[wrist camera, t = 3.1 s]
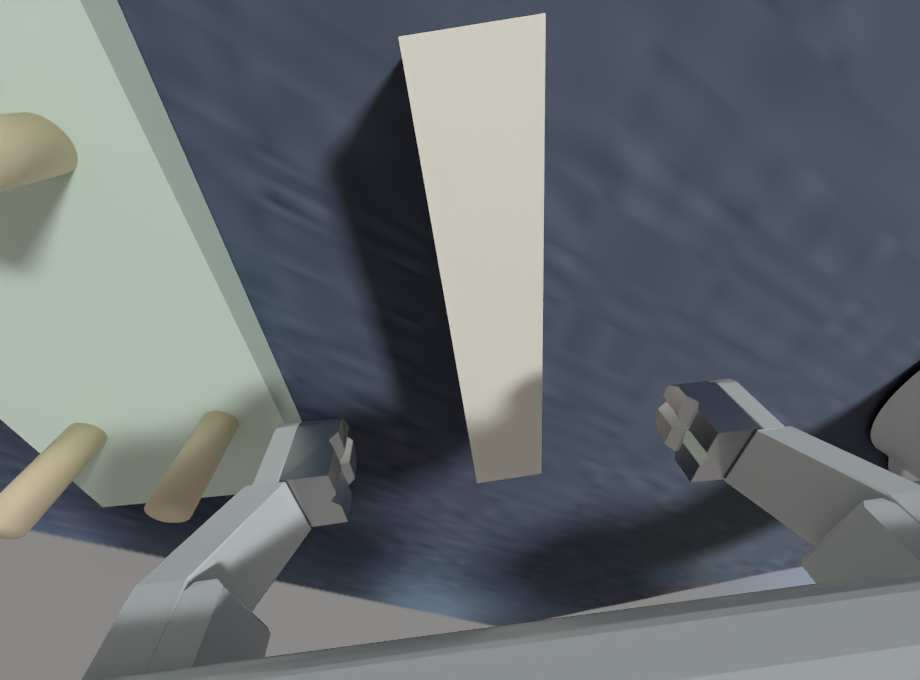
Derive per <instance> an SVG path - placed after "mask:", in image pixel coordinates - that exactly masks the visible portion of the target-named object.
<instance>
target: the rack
mask: <svg viewBox="0 0 920 680" xmlns="http://www.w3.org/2000/svg"><path fill="white" fill-rule="evenodd" d="M0 419H1V420H2V421H3V422H4V423H6V424H7V425H8V426H9V427H10V428H11V429H12V430H14V431H15V432H16V433H17V434H18V435H19V436H21V437H22V438H23V439H24V440H25V441H26V442H28V443H29V444H30V445H31V446H32V447H33V448H34V449H36V450H37V451H38V452H39V453H40V455H38V456H37V457H36V458H35V459H34V460H33V461H32V462H31V463H30V464H29V465H28V466H27V467H26V468H25V469H24V470H23V471H22V472H21V473H20V474H19V475H18V476H17V477H16V478H15V479H14V480H13V481H12V482H11V483H10V484H9V485H8V486H7V487H6V488H5V489H4V490H3V491H2V492H1V493H0V538H2V539H17V538H22V537H24V536H25V535H26V534H27V533H28V532H29V531H30V529H31V528H32V527H33V526H34V525H35V524H36V523H37V521H38V520H39V519H40V518H41V517H42V516H43V514H44V513H45V512H46V511H47V510H48V509H49V508H50V506H51V505H52V504H53V503H54V502H55V501H56V499H57V498H58V497H59V496H60V495H61V494H62V493H63V491H64V490H65V489H66V488H67V487H68V486H69V484H70V483H71V482H72V481H73V482H74V483H75V484H76V485H77V486H79V487H80V488H81V489H82V490H83V491H84V492H86V493H87V494H88V495H89V496H90V497H91V498H92V499H94V500H95V501H96V502H97V503H98V504H99V505H101V506H102V507H110V506H121V505H131V504H141V503H146V505H145V507H144V511H145V513H146V514H147V515H148V516H150V517H152V518H154V519H156V520H159V521H163V522H168V523H180V522H184V521H187V520H189V519H190V518H191V516H192V515H193V513H194V511H195V509H196V507H197V505H198V503H199V501H200V499H201V498H204V497H214V496H224V495H235V494H237V493H238V492H239V491H240V490H241V489H242V488H244V487H245V486H247V485H252V484H253V482H254V479H255V477H256V475H257V472H258V470H259V467H260V465H261V462H262V460H263V458H264V455H265V453H266V450H267V448H268V446H269V443H270V441H271V438H272V436H273V433H274V431H275V429H276V428H277V427H278V426H279V425H280V424H283V423H296V422H302V420H301V418H300V416H299V414H298V411H297V409H296V407H295V404H294V402H293V400H292V398H291V395H290V393H289V391H288V389H287V386H286V384H285V382H284V379H283V377H282V375H281V373H280V370H279V368H278V366H277V363H276V361H275V359H274V357H273V354H272V352H271V350H270V348H269V345H268V343H267V341H266V338H265V336H264V334H263V332H262V329H261V327H260V325H259V322H258V320H257V318H256V316H255V313H254V311H253V309H252V307H251V304H250V302H249V300H248V297H247V295H246V293H245V291H244V288H243V286H242V284H241V281H240V279H239V277H238V275H237V272H236V270H235V268H234V266H233V263H232V261H231V259H230V256H229V254H228V252H227V250H226V247H225V245H224V243H223V240H222V238H221V236H220V234H219V231H218V229H217V227H216V225H215V222H214V220H213V218H212V215H211V213H210V211H209V209H208V206H207V204H206V202H205V199H204V197H203V195H202V193H201V190H200V188H199V186H198V184H197V181H196V179H195V177H194V174H193V172H192V170H191V168H190V165H189V163H188V161H187V158H186V156H185V154H184V152H183V149H182V147H181V145H180V143H179V140H178V138H177V136H176V133H175V131H174V129H173V127H172V124H171V122H170V120H169V117H168V115H167V113H166V111H165V108H164V106H163V104H162V101H161V99H160V97H159V95H158V92H157V90H156V88H155V86H154V83H153V81H152V79H151V76H150V74H149V72H148V70H147V67H146V65H145V63H144V60H143V58H142V56H141V54H140V51H139V49H138V47H137V45H136V42H135V40H134V38H133V35H132V33H131V31H130V29H129V26H128V24H127V22H126V19H125V17H124V15H123V13H122V10H121V8H120V6H119V4H118V1H117V0H0Z"/></svg>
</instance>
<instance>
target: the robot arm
mask: <svg viewBox="0 0 920 680" xmlns="http://www.w3.org/2000/svg"><path fill="white" fill-rule="evenodd" d="M663 397H664V399H665V401H666V402H665V403H664V404H663V405H662V406H661V407H659V408H658V410H657V414H656V417H655V422H656V429H657V432H658V434H659V436H660V438H661V440H662V441H663V443H664V444H665V445H667V446H668V447H670V448H671V449H673V450H675V460H676V462H677V463H678V465H679V466H680V467H681V469H682V470H683V472H684V473H685V475H686V476H687V478H688V479H689V480H690V482H698V481H709V480H721V479H725V480H724V481H725V482H726V483H728V484H729V485H731V486H732V487H733V488H735V489H736V490H737V491H739V492H740V493H742V494H743V495H744V496H746V497H747V498H748V499H750V500H751V501H753V502H754V503H755V504H757V505H758V506H759V507H761V508H762V509H764V510H765V511H766V512H768V513H769V514H770V515H772V516H773V517H775V518H776V519H777V520H779V521H780V522H782V523H783V524H784V525H786V526H787V527H788V528H790V529H791V530H793V531H794V532H795V533H797V534H798V535H799V536H801V537H802V538H804V539H805V540H806V541H808V542H809V543H810V544H812V545H813V547H812V548H811V549H810V550H809V551H808V552H807V553H806V554H804V555H803V556H802V558H801V565H802V566H803V567H804V569H805V570H806V571H807V572H808V574H809V575H810V576H811V577H812V579H813V580H814V581H815V583H816V584H810V585H803V586H795V587H788V588H781V589H773V590H765V591H758V592H751V593H743V594H736V595H729V596H721V597H714V598H705V599H698V600H691V601H683V602H676V603H669V604H661V605H654V606H646V607H639V608H631V609H624V610H616V611H608V612H601V613H593V614H586V615H578V616H571V617H563V618H556V619H548V620H541V621H533V622H526V623H518V624H511V625H503V626H496V627H488V628H481V629H473V630H466V631H458V632H451V633H444V634H436V635H428V636H422V637H414V638H406V639H398V640H391V641H384V642H376V643H369V644H361V645H354V646H346V647H339V648H331V649H324V650H316V651H309V652H301V653H294V654H287V655H279V656H271V657H265V653H266V648H267V644H268V641H269V637H270V632H269V630H268V628H267V626H266V625H265V624H264V623H263V622H262V621H261V620H260V619H258V618H257V616H255V615H254V614H253V613H252V611H253V609H254V608H255V606H256V605H257V604H258V602H259V601H260V600H261V598H262V597H263V595H264V594H265V592H266V591H267V590H268V589H269V587H270V586H271V584H272V583H273V582H274V580H275V579H276V577H277V576H278V575H279V573H280V572H281V571H282V569H283V568H284V566H285V565H286V564H287V562H288V561H289V559H290V558H291V557H292V555H293V554H294V553H295V551H296V550H297V548H298V547H299V546H300V544H301V543H302V541H303V540H304V539H305V537H306V536H307V535H308V533H309V532H310V530H311V528H310V527H315V526H322V525H329V524H336V523H343V522H348V518H349V512H350V506H351V500H352V493H351V490H350V488H349V484H350V483H351V482H352V481H353V480H354V479H355V474H356V450H355V445H354V442H353V440H352V439H350V438H349V437H348V432H349V427H348V424H347V422H346V419H330V420H317V421H304V422H296V423H283V424H280V425H279V426H278V427H277V428H276V429H275V431H274V433H273V436H272V438H271V441H270V443H269V446H268V448H267V450H266V453H265V455H264V458H263V460H262V462H261V465H260V467H259V470H258V472H257V475H256V477H255V479H254V482H253V484H252V485H247V486H245V487H244V488H242V489H241V490H240V491H239V492H238V493H237V494H236V495H235V496H234V497H232V498H231V499H230V500H229V501H228V502H227V503H226V504H225V505H224V506H223V507H221V508H220V509H219V510H218V511H217V512H216V513H215V514H214V515H213V516H212V517H210V518H209V519H208V520H207V521H206V522H205V523H204V524H203V525H202V526H200V527H199V528H198V529H197V530H196V531H195V532H194V533H193V534H192V535H191V536H189V537H188V538H187V539H186V540H185V541H184V542H183V543H182V544H181V545H180V546H178V547H177V548H176V549H175V550H174V551H173V552H172V553H171V554H170V555H168V556H167V557H166V558H165V559H164V560H163V561H162V562H161V563H160V564H159V565H157V566H156V567H155V568H154V569H153V570H152V571H151V572H150V573H149V574H148V575H146V576H145V577H144V578H143V579H142V580H141V581H140V582H139V583H138V584H137V585H135V586H134V588H133V590H132V591H131V593H130V595H129V597H128V599H127V600H126V602H125V604H124V606H123V607H122V609H121V611H120V613H119V614H118V617H117V618H116V620H115V622H114V623H113V625H112V627H111V629H110V631H109V633H108V634H107V636H106V638H105V640H104V641H103V643H102V645H101V647H100V648H99V650H98V652H97V653H96V655H95V657H94V659H93V661H92V662H91V664H90V666H89V668H88V669H87V671H86V673H85V675H84V677H83V678H82V680H920V485H918V484H916V483H914V482H912V481H918V480H920V371H919V372H917V373H916V374H915V375H914V376H912V377H911V378H910V379H909V380H908V381H907V382H906V383H905V384H904V385H903V386H901V387H900V388H899V389H898V390H897V391H896V392H895V393H894V395H893V396H892V397H891V398H890V399H889V400H888V401H887V403H886V404H885V405H884V406H883V408H882V409H881V410H880V412H879V414H878V415H877V417H876V419H875V421H874V423H873V426H872V429H871V440H872V443H873V445H874V446H875V447H876V448H877V449H878V450H880V451H882V452H883V453H885V454H886V455H887V456H888V457H889V460H888V469H889V471H888V470H885V469H883V468H881V467H879V466H877V465H875V464H872V463H870V462H868V461H866V460H864V459H861V458H859V457H857V456H855V455H853V454H851V453H848V452H846V451H844V450H842V449H840V448H837V447H835V446H833V445H831V444H829V443H827V442H824V441H822V440H820V439H818V438H816V437H813V436H811V435H809V434H807V433H805V432H803V431H800V430H798V429H796V428H794V427H792V426H790V427H785V426H784V425H783V424H781V423H780V422H779V421H778V420H777V419H776V418H775V417H774V416H773V415H772V414H771V413H770V412H769V411H768V410H766V409H765V408H764V407H763V406H762V405H761V404H760V403H759V402H758V401H757V400H756V399H755V398H754V397H753V396H751V395H750V394H749V393H748V392H747V391H746V390H745V389H744V388H743V387H742V386H741V385H740V384H739V383H737V382H736V381H734V380H732V379H722V380H713V381H703V382H694V383H685V384H676V385H670V386H669V387H668V388H667V389H666V390H665V393H664V395H663Z"/></svg>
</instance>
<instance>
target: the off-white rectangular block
mask: <svg viewBox="0 0 920 680" xmlns="http://www.w3.org/2000/svg"><path fill="white" fill-rule="evenodd" d="M545 27H546V13H543V14H537V15H531V16H524V17H518V18H512V19H506V20H500V21H493V22H487V23H481V24H475V25H468V26H462V27H456V28H450V29H444V30H437V31H431V32H425V33H419V34H413V35H406V36H400V37H398V38H399V44H400V49H401V55H402V61H403V66H404V72H405V78H406V83H407V89H408V95H409V100H410V106H411V112H412V117H413V123H414V129H415V134H416V140H417V146H418V151H419V157H420V163H421V168H422V174H423V180H424V185H425V191H426V197H427V202H428V208H429V214H430V219H431V225H432V231H433V236H434V242H435V248H436V253H437V259H438V265H439V270H440V276H441V282H442V287H443V293H444V299H445V304H446V310H447V316H448V321H449V327H450V333H451V338H452V344H453V350H454V355H455V361H456V367H457V372H458V378H459V384H460V389H461V395H462V400H463V406H464V412H465V417H466V423H467V429H468V434H469V440H470V446H471V451H472V457H473V463H474V468H475V474H476V480H477V483H481V482H488V481H495V480H501V479H508V478H515V477H521V476H528V475H535V474H541V451H542V345H543V239H544V133H545Z"/></svg>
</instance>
